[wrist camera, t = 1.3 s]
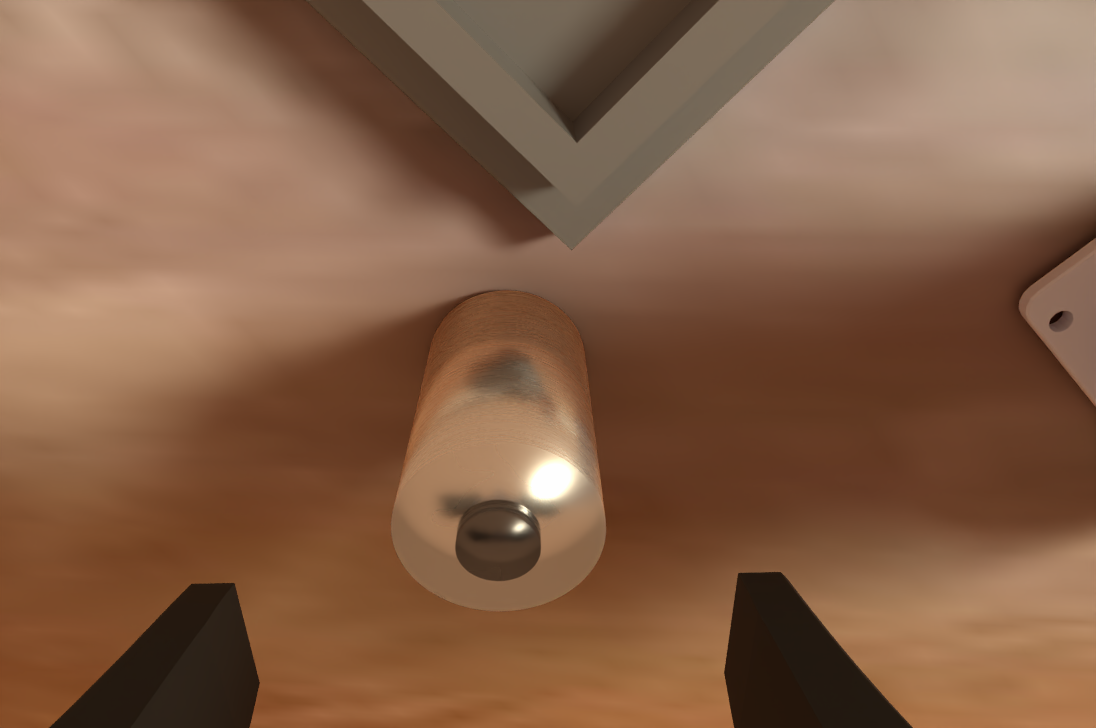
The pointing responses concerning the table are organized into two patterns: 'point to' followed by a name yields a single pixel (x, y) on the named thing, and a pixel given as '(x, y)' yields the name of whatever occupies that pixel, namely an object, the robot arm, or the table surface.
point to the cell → (502, 459)
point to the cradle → (570, 83)
